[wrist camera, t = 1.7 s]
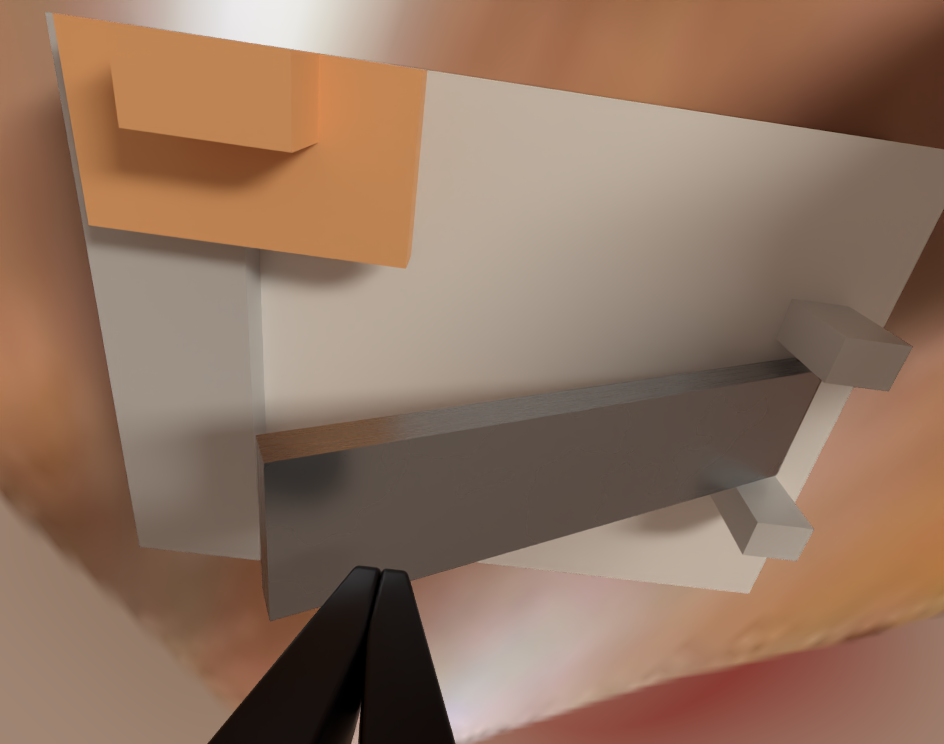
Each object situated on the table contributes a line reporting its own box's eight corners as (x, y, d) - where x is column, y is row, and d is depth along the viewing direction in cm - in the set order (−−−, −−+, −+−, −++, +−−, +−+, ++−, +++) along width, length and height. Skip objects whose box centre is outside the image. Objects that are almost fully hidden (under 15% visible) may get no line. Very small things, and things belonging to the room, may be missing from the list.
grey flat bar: (807, 355, 16) (834, 368, 16) (761, 458, 18) (783, 473, 17) (255, 434, 9) (263, 462, 9) (262, 588, 11) (270, 621, 10)
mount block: (892, 140, 16) (1070, 169, 11) (718, 534, 23) (782, 659, 18) (146, 27, 15) (-15, 3, 10) (194, 471, 22) (111, 585, 17)
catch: (427, 70, 12) (412, 67, 9) (410, 256, 14) (395, 296, 11) (85, 18, 12) (-24, 1, 9) (114, 215, 13) (31, 246, 11)
